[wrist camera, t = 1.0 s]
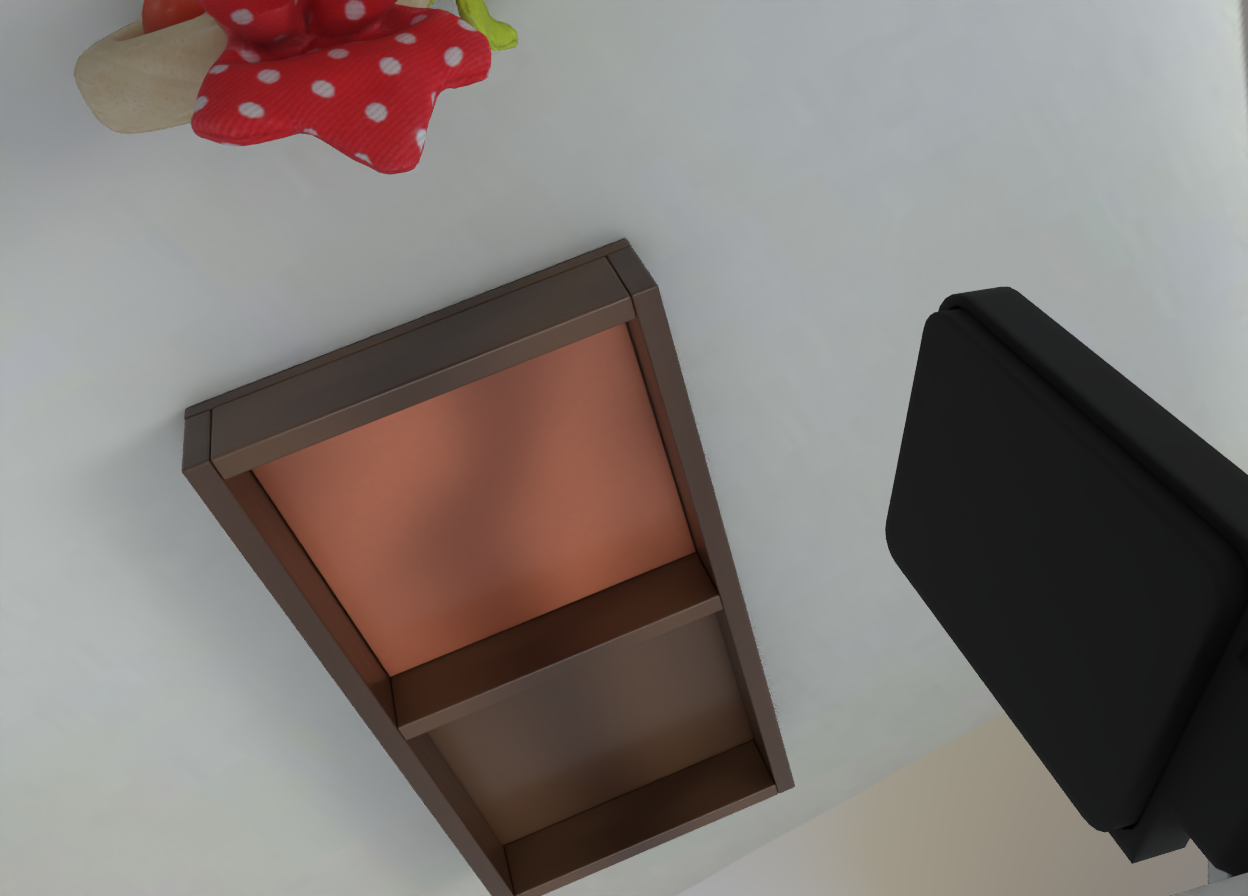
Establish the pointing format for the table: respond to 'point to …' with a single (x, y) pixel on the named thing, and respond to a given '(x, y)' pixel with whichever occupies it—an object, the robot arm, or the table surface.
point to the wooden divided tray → (512, 567)
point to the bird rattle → (292, 71)
